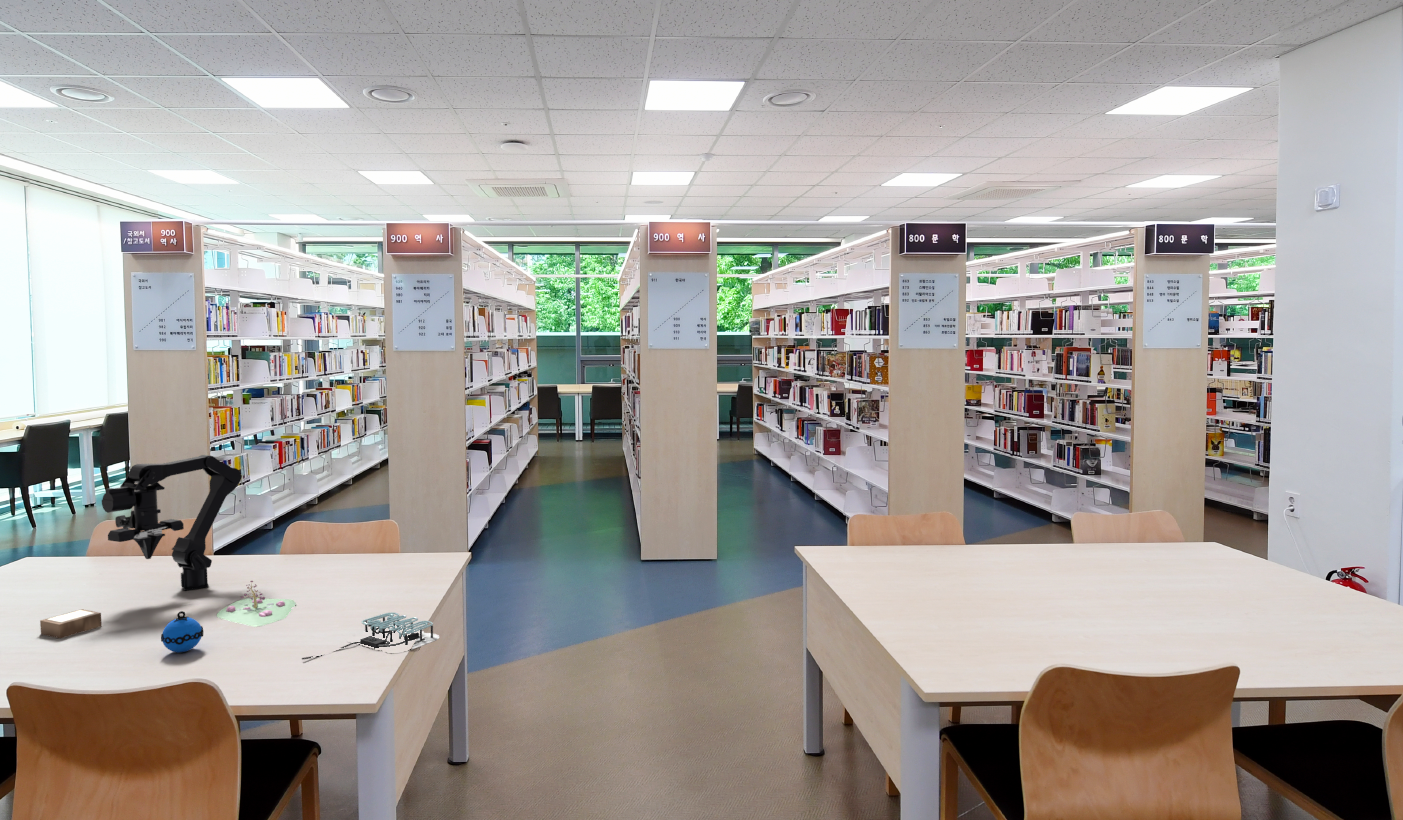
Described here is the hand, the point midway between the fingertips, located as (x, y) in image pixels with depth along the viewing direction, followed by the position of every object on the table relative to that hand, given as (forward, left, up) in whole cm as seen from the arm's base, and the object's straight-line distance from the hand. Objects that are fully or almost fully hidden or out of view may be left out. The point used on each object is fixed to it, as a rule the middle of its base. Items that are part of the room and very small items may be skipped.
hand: (148, 558), depth 240 cm
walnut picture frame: (+14, +18, -10) cm, 25 cm away
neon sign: (-42, +80, -13) cm, 91 cm away
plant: (-24, +34, -13) cm, 43 cm away
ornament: (-4, +56, -12) cm, 57 cm away
